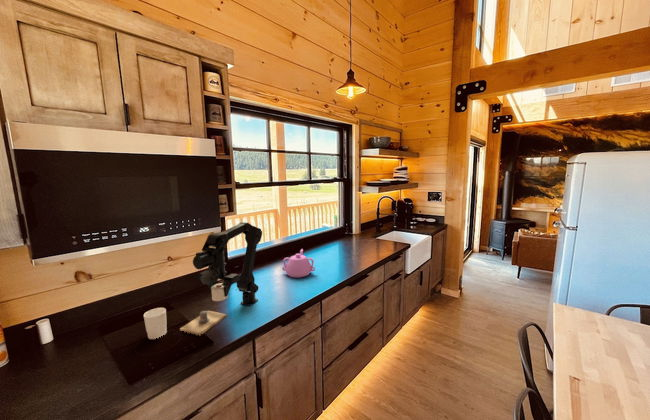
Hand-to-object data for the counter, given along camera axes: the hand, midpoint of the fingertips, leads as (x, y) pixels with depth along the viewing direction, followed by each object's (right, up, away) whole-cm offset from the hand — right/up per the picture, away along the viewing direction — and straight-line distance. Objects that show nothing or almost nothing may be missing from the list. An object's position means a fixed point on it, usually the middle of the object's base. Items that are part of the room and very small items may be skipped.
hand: (219, 295), depth 119 cm
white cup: (-23, -14, -7) cm, 28 cm away
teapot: (+30, -4, +58) cm, 66 cm away
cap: (0, -1, 0) cm, 1 cm away
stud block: (-7, -13, 0) cm, 14 cm away
